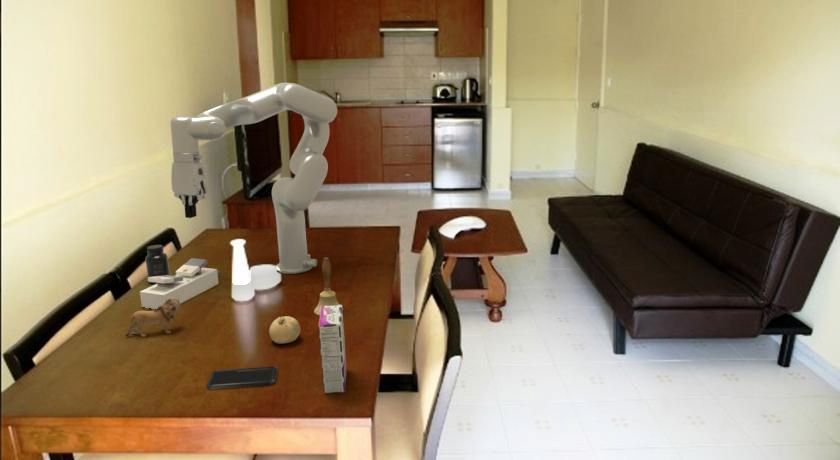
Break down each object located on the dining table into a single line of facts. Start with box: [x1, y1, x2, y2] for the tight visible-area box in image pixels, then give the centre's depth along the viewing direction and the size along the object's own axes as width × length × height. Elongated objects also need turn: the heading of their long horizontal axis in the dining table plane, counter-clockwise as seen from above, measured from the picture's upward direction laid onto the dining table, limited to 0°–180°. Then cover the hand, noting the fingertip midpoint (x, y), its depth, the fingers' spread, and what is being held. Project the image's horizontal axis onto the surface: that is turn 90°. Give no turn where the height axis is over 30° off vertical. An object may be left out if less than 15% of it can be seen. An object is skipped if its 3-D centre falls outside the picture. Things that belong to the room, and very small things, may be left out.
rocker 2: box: [175, 257, 209, 276], centre depth 206 cm, size 6×8×2 cm
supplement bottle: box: [145, 244, 171, 285], centre depth 214 cm, size 7×7×12 cm
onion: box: [268, 315, 301, 345], centre depth 168 cm, size 8×8×7 cm
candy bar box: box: [318, 304, 348, 394], centre depth 145 cm, size 11×5×16 cm, turn 5°
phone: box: [206, 366, 279, 390], centre depth 150 cm, size 8×1×15 cm
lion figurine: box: [124, 297, 182, 338], centre depth 175 cm, size 15×5×9 cm, turn 116°
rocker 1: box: [147, 274, 183, 284], centre depth 196 cm, size 6×8×2 cm
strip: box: [139, 267, 221, 310], centre depth 205 cm, size 9×30×6 cm, turn 159°
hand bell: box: [313, 256, 344, 317], centre depth 186 cm, size 8×8×16 cm
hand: (191, 216), depth 202 cm, fingers closed
